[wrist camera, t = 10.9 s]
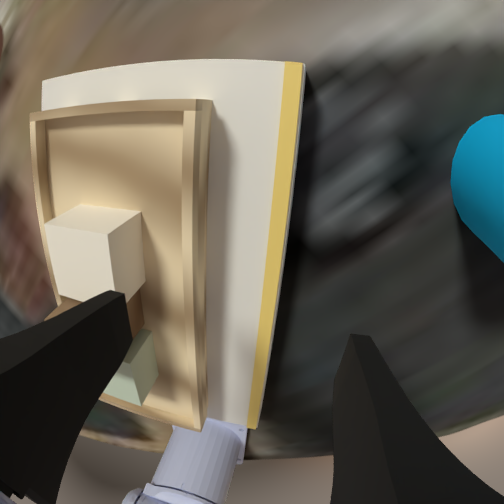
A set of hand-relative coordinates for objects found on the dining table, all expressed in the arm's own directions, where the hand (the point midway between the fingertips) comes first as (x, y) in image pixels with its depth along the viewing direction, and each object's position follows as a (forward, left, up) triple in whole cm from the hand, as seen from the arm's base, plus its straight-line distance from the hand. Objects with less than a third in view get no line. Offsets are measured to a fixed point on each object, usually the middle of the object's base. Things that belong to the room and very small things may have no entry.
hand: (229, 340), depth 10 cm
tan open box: (-4, +8, -8) cm, 12 cm away
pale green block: (-8, +8, -6) cm, 13 cm away
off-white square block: (0, +8, -6) cm, 10 cm away
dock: (-4, +7, -10) cm, 13 cm away
